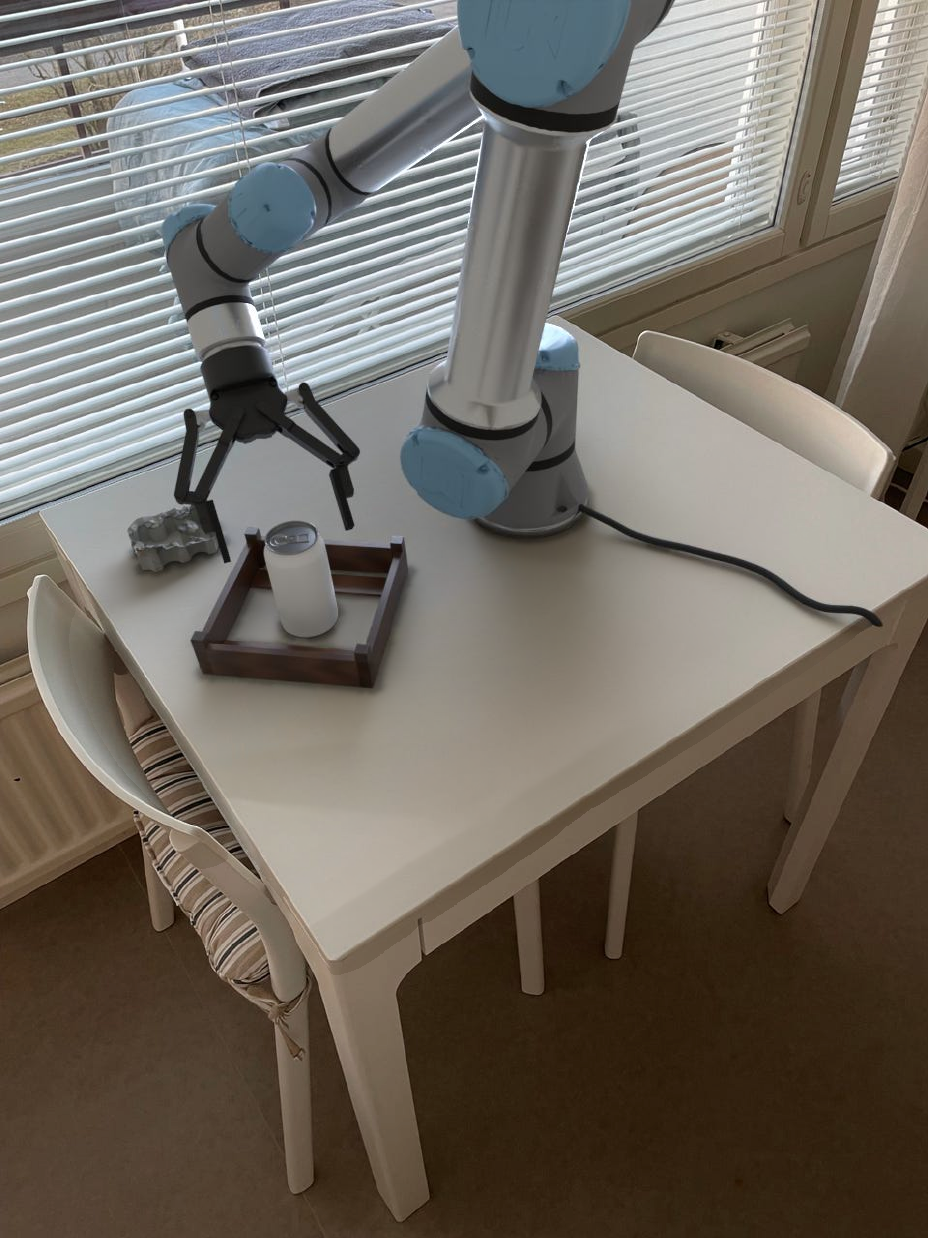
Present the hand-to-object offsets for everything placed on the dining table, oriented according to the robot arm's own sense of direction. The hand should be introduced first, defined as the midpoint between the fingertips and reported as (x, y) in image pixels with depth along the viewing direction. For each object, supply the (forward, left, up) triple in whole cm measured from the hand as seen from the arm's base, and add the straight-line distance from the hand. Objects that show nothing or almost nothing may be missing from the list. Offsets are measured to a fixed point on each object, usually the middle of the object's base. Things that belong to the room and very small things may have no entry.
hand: (289, 544), depth 101 cm
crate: (-1, +2, -9) cm, 9 cm away
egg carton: (+19, -9, -9) cm, 22 cm away
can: (-1, +2, -9) cm, 10 cm away
